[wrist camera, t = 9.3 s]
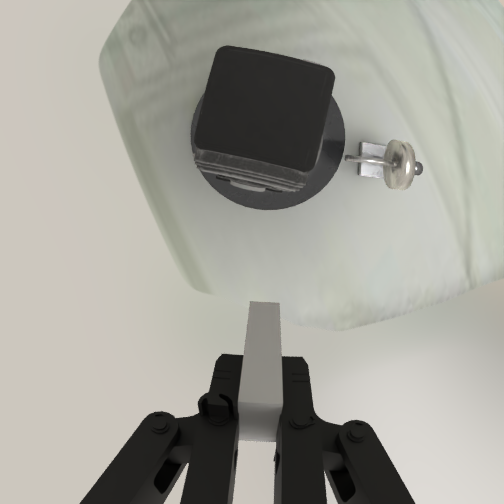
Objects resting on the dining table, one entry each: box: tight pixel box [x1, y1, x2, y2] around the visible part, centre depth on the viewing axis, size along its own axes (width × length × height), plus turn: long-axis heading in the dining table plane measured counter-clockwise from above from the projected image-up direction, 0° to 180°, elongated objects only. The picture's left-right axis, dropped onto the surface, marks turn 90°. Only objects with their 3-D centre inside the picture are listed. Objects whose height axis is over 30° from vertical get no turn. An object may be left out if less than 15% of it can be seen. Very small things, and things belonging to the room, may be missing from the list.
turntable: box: [191, 93, 345, 210], centre depth 31 cm, size 18×18×1 cm
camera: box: [193, 46, 335, 193], centre depth 24 cm, size 10×11×15 cm
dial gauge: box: [345, 140, 423, 190], centre depth 25 cm, size 4×8×12 cm, turn 89°
